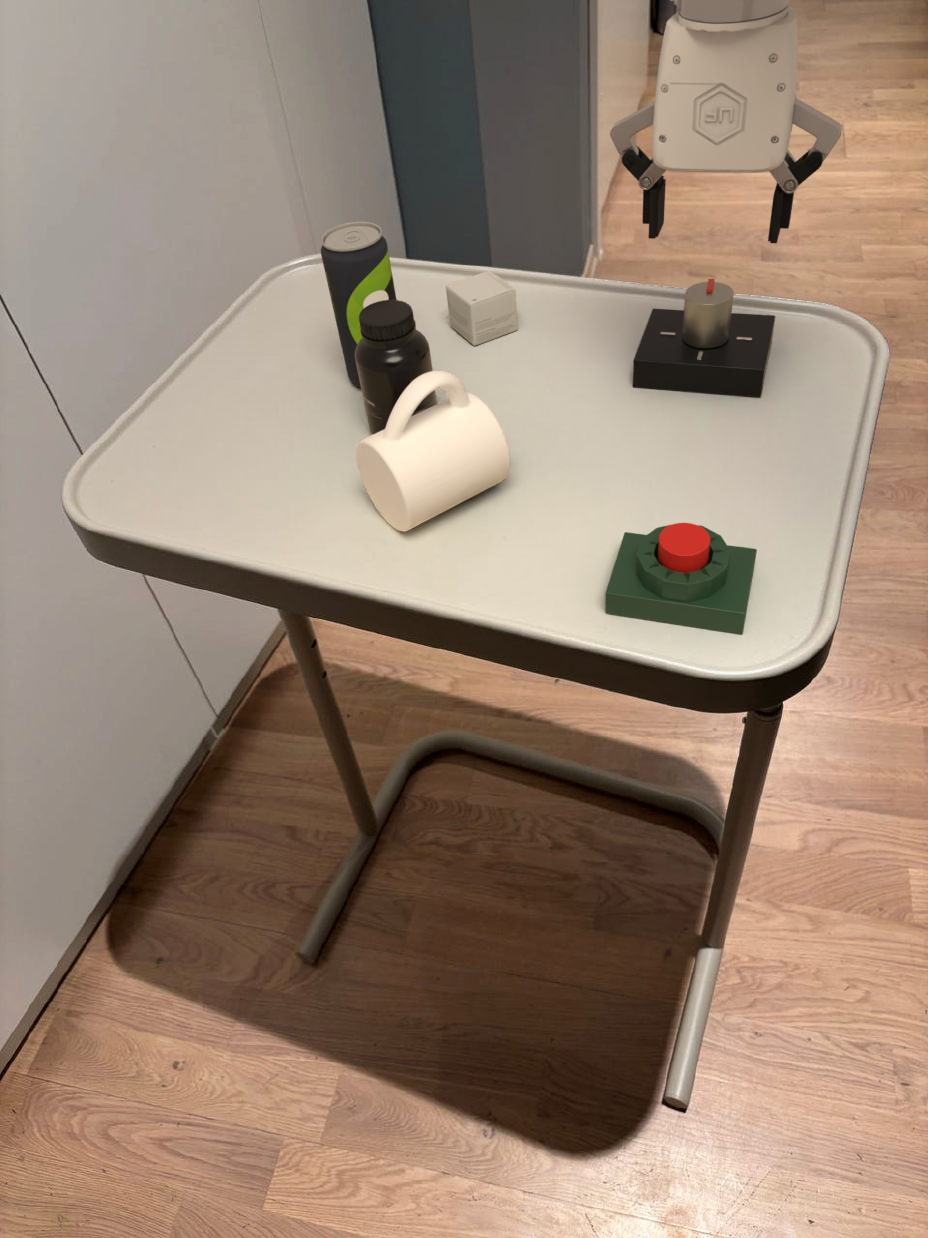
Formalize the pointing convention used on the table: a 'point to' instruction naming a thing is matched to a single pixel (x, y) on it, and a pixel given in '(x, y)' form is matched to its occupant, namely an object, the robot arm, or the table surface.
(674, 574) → the button box
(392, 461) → the mug
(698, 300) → the dial
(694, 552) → the button
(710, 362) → the dial panel
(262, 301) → the table surface
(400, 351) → the supplement bottle
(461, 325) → the small box
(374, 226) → the beverage can
